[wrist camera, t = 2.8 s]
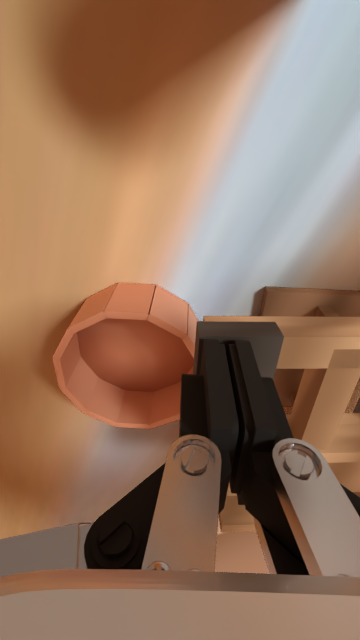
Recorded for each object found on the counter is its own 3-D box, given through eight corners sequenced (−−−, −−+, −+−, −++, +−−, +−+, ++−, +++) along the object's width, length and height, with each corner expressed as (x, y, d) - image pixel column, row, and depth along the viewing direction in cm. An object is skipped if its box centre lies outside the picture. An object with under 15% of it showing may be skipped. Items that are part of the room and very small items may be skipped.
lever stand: (383, 292, 27) (516, 404, 16) (337, 402, 33) (409, 535, 22) (265, 286, 27) (315, 394, 16) (243, 397, 33) (268, 527, 22)
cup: (208, 286, 27) (211, 316, 23) (198, 393, 33) (199, 431, 29) (65, 280, 27) (41, 307, 23) (83, 386, 33) (66, 424, 29)
